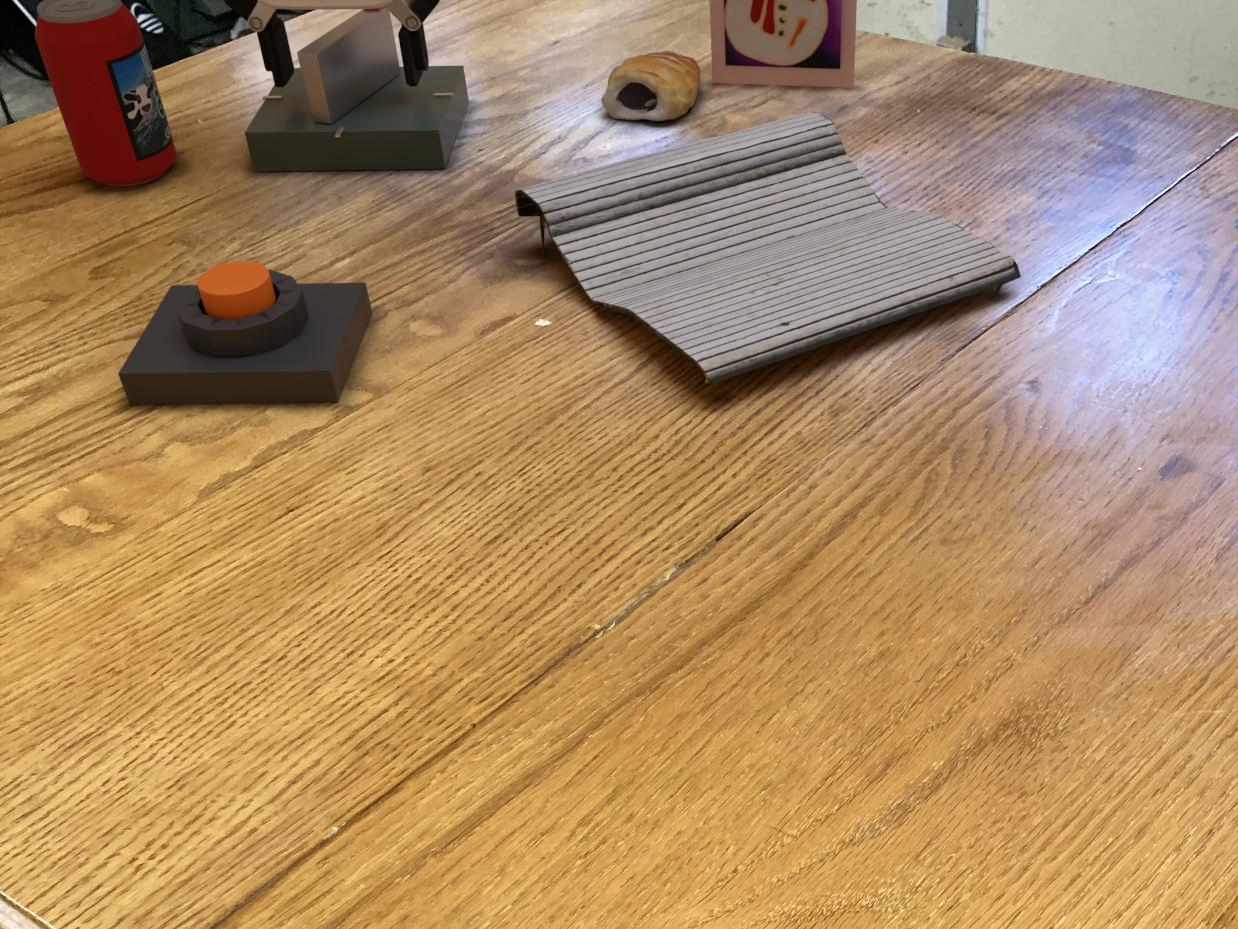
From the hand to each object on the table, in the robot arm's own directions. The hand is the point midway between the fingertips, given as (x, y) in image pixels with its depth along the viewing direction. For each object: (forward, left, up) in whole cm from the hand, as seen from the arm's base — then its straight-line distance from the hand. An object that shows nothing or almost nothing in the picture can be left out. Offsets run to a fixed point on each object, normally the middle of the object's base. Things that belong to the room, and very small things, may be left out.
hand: (350, 80), depth 106 cm
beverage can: (-16, +6, -5) cm, 17 cm away
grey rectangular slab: (0, 0, -1) cm, 1 cm away
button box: (-20, -24, -4) cm, 32 cm away
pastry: (+20, -10, -5) cm, 23 cm away
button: (-20, -24, -1) cm, 31 cm away
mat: (+9, -36, -5) cm, 38 cm away
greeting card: (+32, -12, -5) cm, 35 cm away
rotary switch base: (0, 0, -4) cm, 4 cm away
